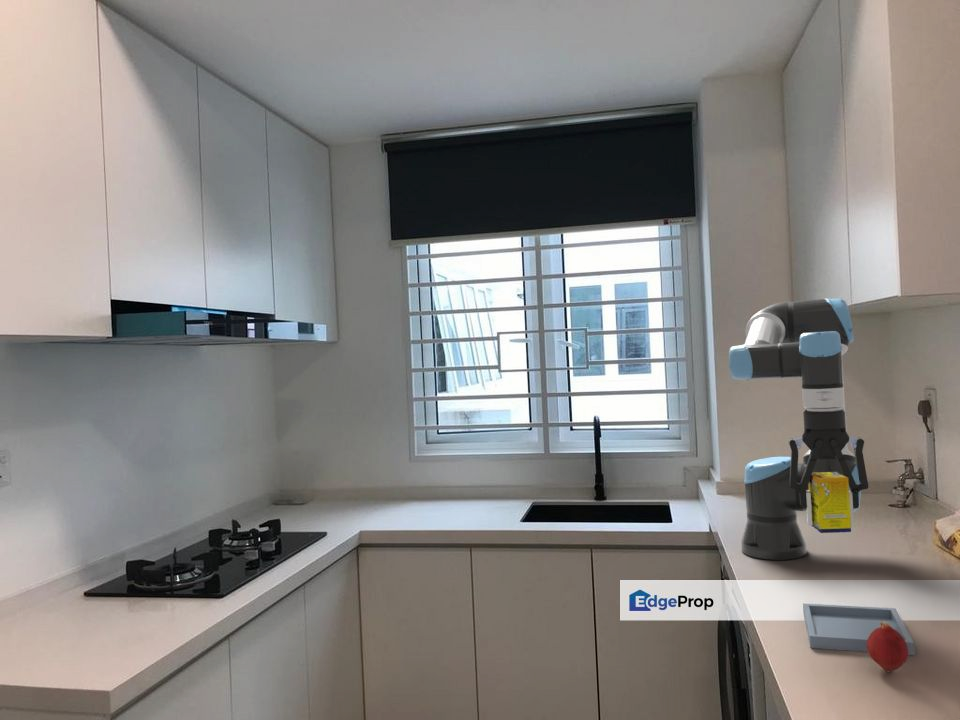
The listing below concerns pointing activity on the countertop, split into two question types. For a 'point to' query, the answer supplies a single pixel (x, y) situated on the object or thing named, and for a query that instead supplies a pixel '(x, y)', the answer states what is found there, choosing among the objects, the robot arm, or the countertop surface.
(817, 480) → the supplement box
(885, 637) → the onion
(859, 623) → the slate tray
